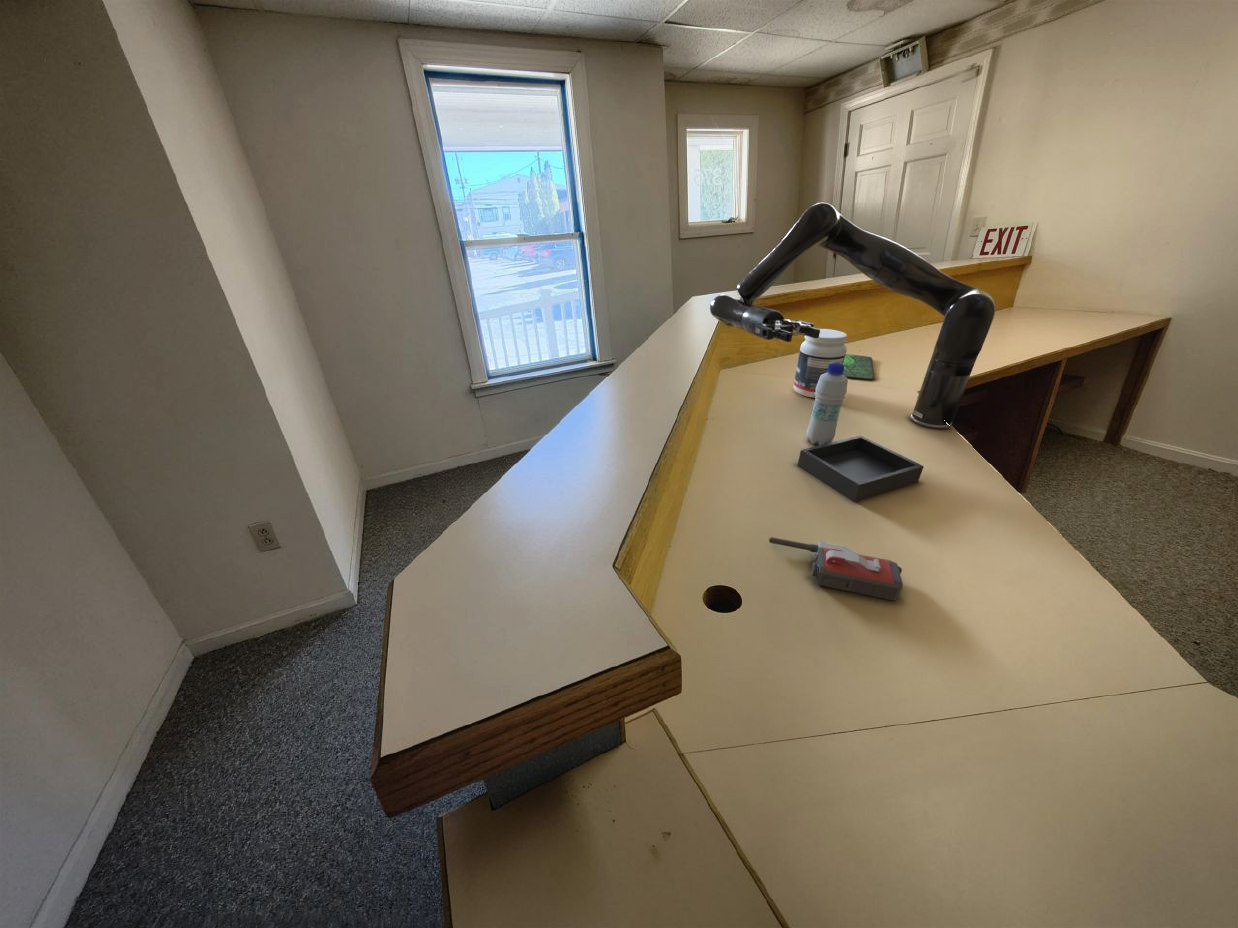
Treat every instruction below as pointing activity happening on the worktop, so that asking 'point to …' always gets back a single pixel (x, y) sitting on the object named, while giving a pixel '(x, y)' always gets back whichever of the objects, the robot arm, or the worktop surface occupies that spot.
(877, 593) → the walkie-talkie
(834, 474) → the tray
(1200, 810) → the worktop surface
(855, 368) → the mouse mat
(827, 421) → the bottle
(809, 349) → the supplement tub
